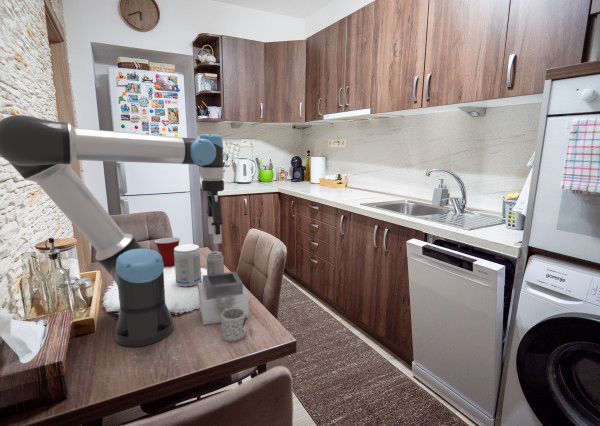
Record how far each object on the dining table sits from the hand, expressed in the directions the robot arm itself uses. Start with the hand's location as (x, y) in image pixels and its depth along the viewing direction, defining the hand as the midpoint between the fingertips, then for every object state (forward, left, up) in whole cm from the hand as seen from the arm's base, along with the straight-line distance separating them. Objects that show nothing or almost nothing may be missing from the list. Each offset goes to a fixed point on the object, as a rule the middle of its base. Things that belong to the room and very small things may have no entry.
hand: (214, 238), depth 119 cm
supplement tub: (-9, +12, -21) cm, 26 cm away
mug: (0, -30, -21) cm, 36 cm away
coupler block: (0, -16, -21) cm, 26 cm away
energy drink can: (0, 0, -21) cm, 21 cm away
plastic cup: (-16, +37, -21) cm, 45 cm away
